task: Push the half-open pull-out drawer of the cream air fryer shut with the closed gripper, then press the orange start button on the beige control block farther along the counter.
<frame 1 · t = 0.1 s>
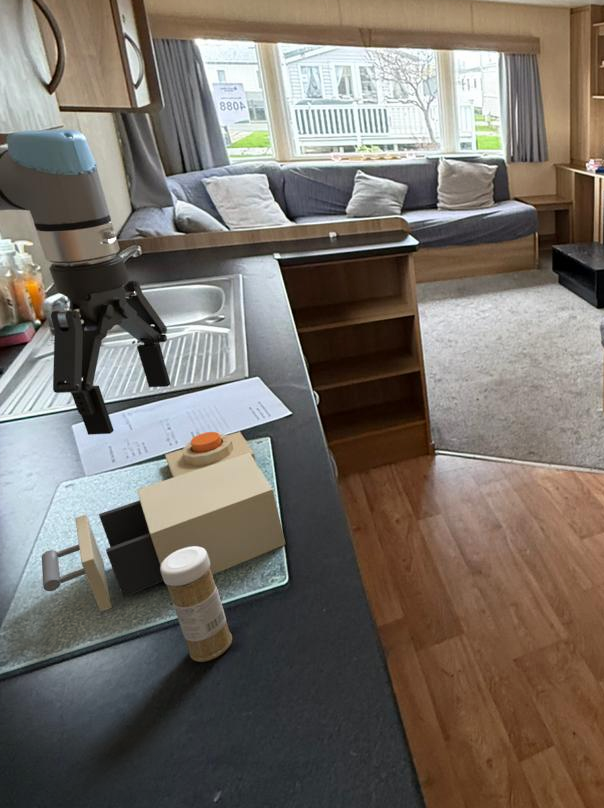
hand: (132, 407, 90), 21 cm above the counter, tool pointing down, fingers open, 13 cm apart
start button: (206, 442, 112), point 4 cm above the counter, slide at 0.1 cm
sprinkles bottle: (211, 649, 77), on the counter
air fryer: (220, 544, 94), on the counter
pull-out drawer: (129, 547, 87), point 5 cm above the counter, slide at 6.0 cm
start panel: (212, 464, 114), on the counter
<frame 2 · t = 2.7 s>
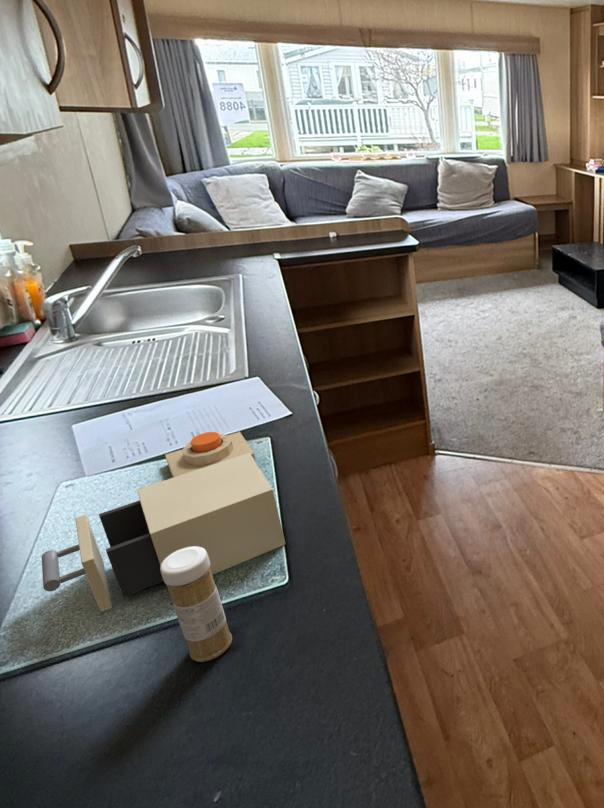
nothing on the counter moved.
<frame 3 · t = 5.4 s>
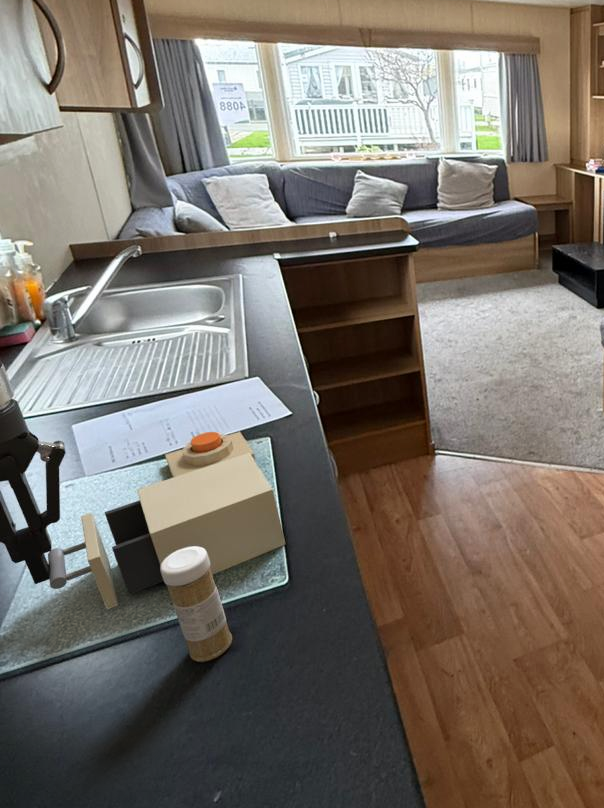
hand: (42, 575, 81), 6 cm above the counter, tool pointing down, fingers closed
pull-out drawer: (135, 545, 87), point 5 cm above the counter, slide at 5.4 cm, touching gripper
everything else where it was.
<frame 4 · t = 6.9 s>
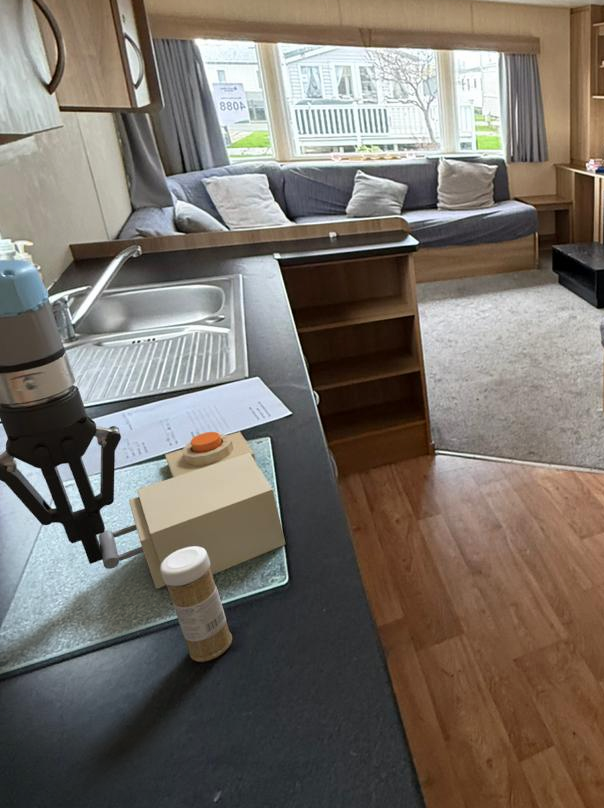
hand: (95, 556, 84), 5 cm above the counter, tool pointing down, fingers closed
pull-out drawer: (181, 528, 90), point 5 cm above the counter, slide at 0.0 cm, touching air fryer, gripper
everything else where it was.
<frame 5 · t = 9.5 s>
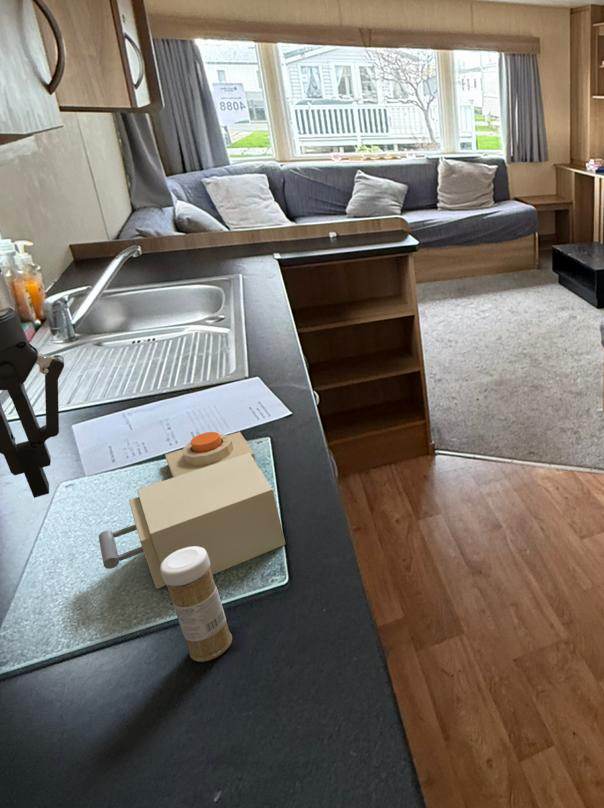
hand: (41, 490, 82), 15 cm above the counter, tool pointing down, fingers closed
pull-out drawer: (181, 528, 90), point 5 cm above the counter, slide at 0.0 cm
everything else where it was.
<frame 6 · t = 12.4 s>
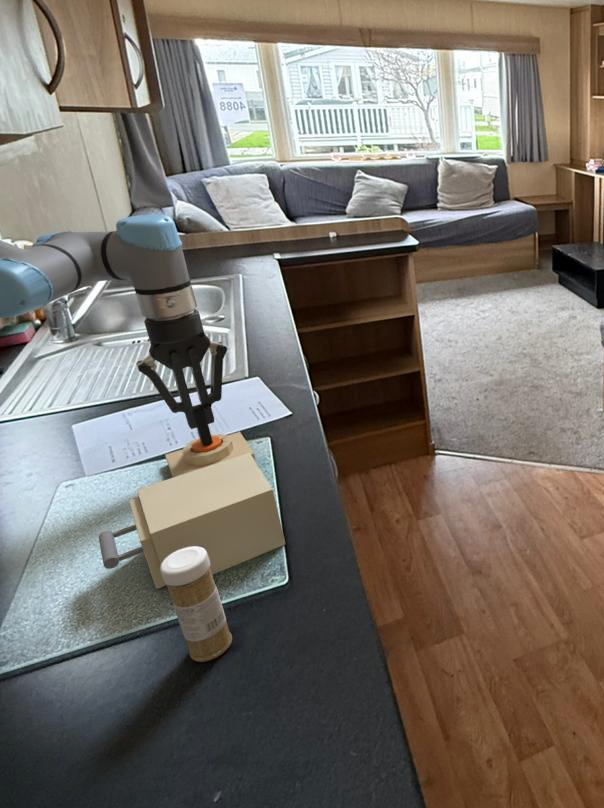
hand: (206, 441, 112), 5 cm above the counter, tool pointing down, fingers closed
start button: (207, 446, 113), point 4 cm above the counter, slide at -0.8 cm, touching gripper
everything else where it was.
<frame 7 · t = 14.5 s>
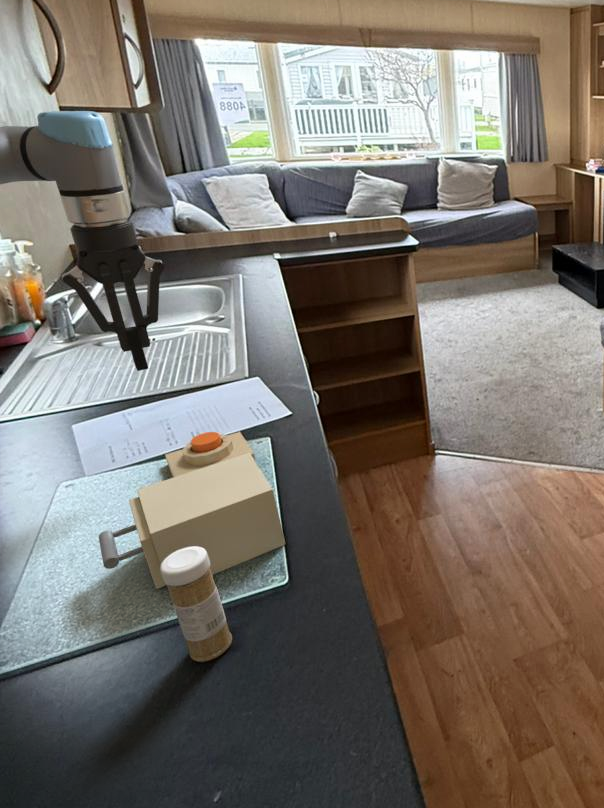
hand: (141, 367, 104), 20 cm above the counter, tool pointing down, fingers closed
start button: (206, 442, 112), point 4 cm above the counter, slide at 0.1 cm
everything else where it was.
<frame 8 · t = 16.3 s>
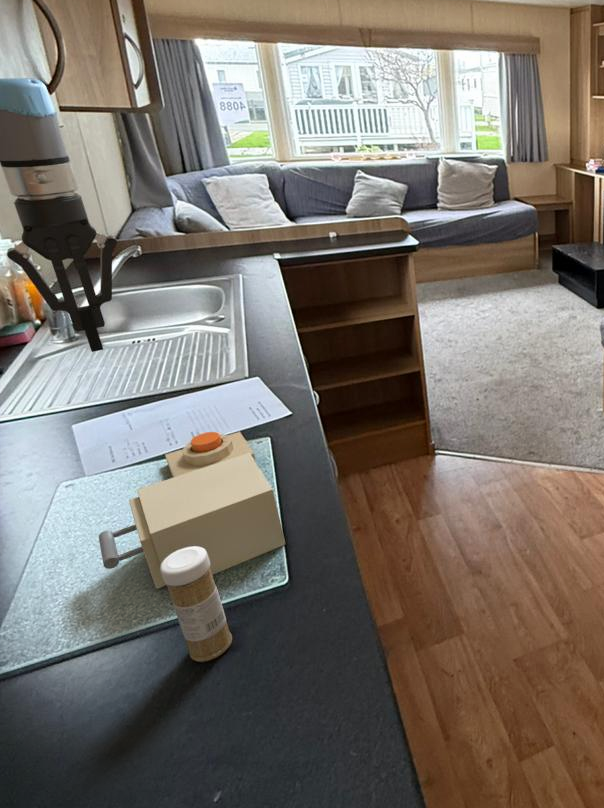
hand: (96, 348, 101), 24 cm above the counter, tool pointing down, fingers closed
nothing on the counter moved.
at the end: pull-out drawer slide at 0.0 cm; start button pushed in 1.0 cm at the most during the clip, back to where it started at the end; start button slide at 0.1 cm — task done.
